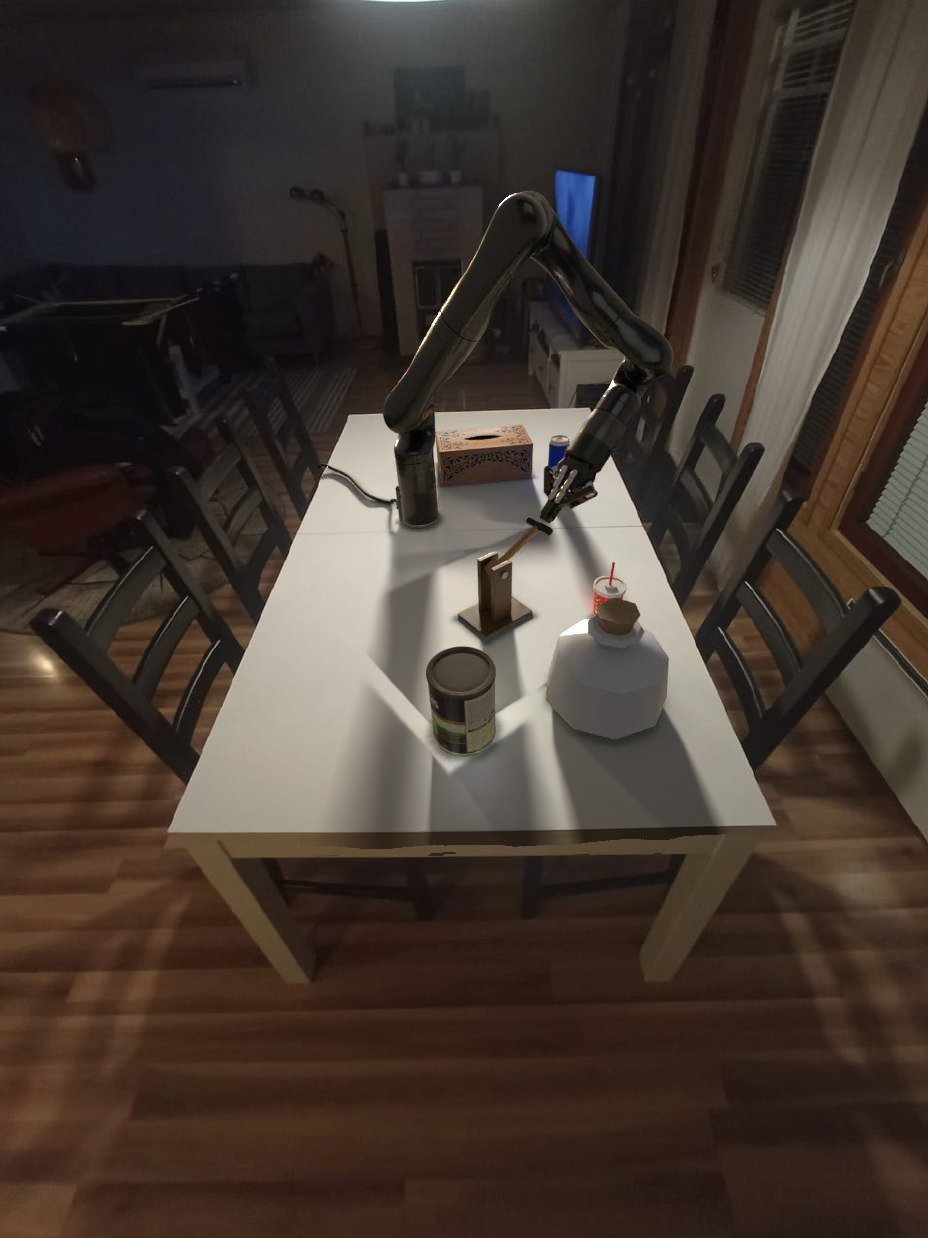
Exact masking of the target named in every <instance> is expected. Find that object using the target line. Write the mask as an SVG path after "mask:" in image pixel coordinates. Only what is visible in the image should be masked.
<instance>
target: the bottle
mask: <svg viewBox="0 0 928 1238" xmlns="http://www.w3.org/2000/svg"><path fill="white" fill-rule="evenodd" d="M597 611H598V614H597V615H595V616H594V617H593V616H592V617H591V618H587V619H581V620H580V621H579V622H578V623H575V624H574V625H573V626H571V627H569V628H568V629H567V630H565V631H564V632H562V633H560V634H559V635H558V637H557V640H556V644H555V647H554V651H553V654H552V658H551V660H550V663H549V667H548V671H547V682H546V683H547V684H546V693H545V701H546V702H547V704H549V705H550V707H552V708H553V710H555V711H556V713H557V714H558V715H559V716H560V717H561V718H562V719H563V720H564V721H565V722H566V724H568V726H569V727H570V728H571V729H573V730H575V731H578V732H582V733H585V734H590V735H595V736H598V737H602V738H607V739H610V740H619V739H622V738H625V737H628V736H631V735H633V734H636V733H640V732H642V731H645V730H648V729H651V728H654V727H656V726H657V723H658V721H659V718H660V715H661V713H662V710H663V708H664V706H665V703H666V700H667V698H668V686H669V685H668V683H669V663H670V657H669V656H668V654H667V652H666V651H665V650H664V648H663V646H662V645H661V644H660V642H659V641H658V639H657V638H656V636H655V635H654V633H653V632H652V631H649V630H647V629H644V628H643V626H642V625H641V623H640V621H639V619H640V617H641V613H640V610H639V608H638V606H637V604H636V603H635V602H632V601H629V600H626V599H623V600H622V599H619V598H613V599H610V600H608V601H606V602H604V603H601V604H599V605H597Z"/></svg>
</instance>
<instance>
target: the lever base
mask: <svg viewBox="0 0 928 1238" xmlns="http://www.w3.org/2000/svg"><path fill="white" fill-rule="evenodd" d="M494 557H495V558H496V559H499V552H498V551H497V550H494V551H492V552H489V553H487V554H485V555H482V556H481V557H479V558H477V559H476V560H477V561H476V564H477V566H476V567H477V568H476V569H477V600H478V603H476V604H474V605H471V606H469V607H467V608H466V609H463V610H462V611H460V612H458V613H457V616H458V617H459V618H461V619H462V620H463V621H464V622H465V623H467V625H469V626H470V627H471V628H473V629H474V630H475V631H476V632H477V633H478V634H480V635H481V636H482V637H483V638H485V639H487V638H489V637H490V636H492V635H494V634H496V633H498V632H499V631H502V630H503V629H505V628H507V627H509V626H511V625H512V624H514V623H516V622H518V621H520V620H522V619H524V618H525V617H527V616H529V615H531V614H533V610H532V609H530V608H529V607H528V606H526V605H525V604H523V603H522V602H521V601H519V600H518V599H517V598H515V597H514V596H513V561H512V560H511V559H510V560H508V561H505V562H503V563H501V564H499V565H497V566H495V567H493V568H491V576H489V575H488V574H487V572H486V570H485V568H484V566H485V565H486V564H488V563H489V562H490V561H491V560H492V559H493V558H494Z"/></svg>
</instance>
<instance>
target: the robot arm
mask: <svg viewBox="0 0 928 1238" xmlns="http://www.w3.org/2000/svg"><path fill="white" fill-rule="evenodd" d="M529 259H531V260H533V261H534V262H536V263H537V265H539V266H540V267H541V268H543V270H545V272H546V273H548V274H549V276H550V277H551V278H552V279H553V280H554V282H555V283H556V284H557V286H558V287H559V289H560V290H561V292H562V293H563V296H564V297H565V299H566V300H567V302H568V304H569V306H570V307H571V309H572V311H573V312H574V314H575V315H576V316H577V318H578V319H579V321H581V323H582V324H583V326H584V327H586V328H587V329H588V331H589V332H590V333H591V334H592V335H593V336H594V338H596V339H597V341H598V342H599V343H600V344H601V345H602V346H603V347H605V348H607V349H615V350H617V351H618V352H619V353H620V354H622V355H623V356H624V357H623V359H622V360H621V362H620V363H619V365H618V367H617V369H616V371H615V373H614V375H613V377H612V379H611V382H610V384H609V386H608V387H607V388H606V390H605V392H604V393H603V395H602V396H601V398H600V399H599V400H598V402H597V403H596V406H595V407H594V408H593V410H592V411H591V413H590V414H589V415H588V416H587V417H586V418H585V420H584V421H583V423H582V425H581V426H580V428H579V429H578V431H577V433H576V434H575V436H574V437H573V439H572V441H571V442H570V445H569V447H568V448H567V450H566V455H565V457H564V458H563V459H562V460H561V461H560V462H559V463H558V465H557V466H554V467H551V468H550V467H549V466H548V465H545V466H544V467H543V493H544V494H545V495H546V497H547V501H546V502H545V504H544V505H543V507H542V509H541V510H540V511H539V519H540V520H541V521H543V522H545V523H547V524H549V525H550V524H551V523H553V522H554V521H555V520H556V518H557V517H558V515H559V514H560V512H561V511H562V509H564V508H569V509H570V510H571V509H574V508H576V507H578V506H580V505H582V504H584V503H586V502H588V501H590V500H593V499H594V498H596V497H597V496H598V494H599V491H597V489H596V488H595V485H594V482H595V481H596V476H597V474H599V473H600V472H601V471H602V470H603V468H604V466H605V465H606V463H607V462H608V461H609V459H610V457H611V456H612V454H613V453H614V451H615V450H616V448H617V447H618V445H619V443H620V442H621V440H622V438H623V436H624V434H625V432H626V430H627V429H628V427H629V426H630V424H631V423H632V421H633V420H634V418H635V417H636V415H637V413H638V411H639V410H640V407H641V404H642V401H641V399H642V398H643V396H644V394H645V392H646V391H647V389H648V388H649V387H650V385H651V384H652V382H655V381H657V380H658V379H659V378H662V377H663V376H665V375H666V374H667V373H668V372H669V371H670V370H671V368H672V366H673V363H674V359H675V357H674V355H675V354H674V350H673V347H672V346H671V343H670V342H669V340H668V339H667V337H666V336H665V335H664V334H663V333H661V332H660V331H659V330H658V329H657V328H655V327H654V326H652V324H650V323H649V322H647V321H646V320H645V319H643V318H642V317H640V316H639V315H637V314H635V313H634V312H633V310H632V309H631V308H630V307H629V306H628V305H627V303H626V302H625V301H624V300H623V299H622V298H621V297H620V296H619V295H618V293H617V292H616V291H615V290H614V288H612V287H611V285H610V284H609V283H608V282H607V281H606V280H605V279H604V278H603V277H602V276H601V274H600V272H598V271H597V270H596V269H595V267H594V266H593V265H592V264H591V263H590V262H589V260H588V259H587V258H586V257H585V255H584V254H583V253H582V252H581V250H580V248H578V245H576V242H575V241H574V240H573V239H572V237H571V236H570V234H569V233H568V231H567V230H566V228H565V226H564V225H563V223H562V221H561V219H560V218H559V216H558V215H557V213H556V212H555V210H554V209H553V207H552V205H551V204H550V202H549V200H547V198H546V197H545V195H543V194H541V193H540V192H538V191H534V190H523V191H520V192H516V193H513V194H510V195H509V196H508V197H506V198H505V199H504V200H503V201H502V202H501V203H500V204H499V205H498V206H497V208H496V210H495V212H494V214H493V216H492V217H491V220H490V222H489V224H488V227H487V228H486V231H485V232H484V236H483V237H482V240H481V242H480V244H479V246H478V248H477V250H476V252H475V255H474V257H473V258H472V260H471V262H470V264H469V265H468V267H467V269H466V270H465V271H464V272H463V275H462V276H461V277H460V279H459V280H458V282H457V283H456V284H455V286H454V287H453V289H452V291H451V292H450V294H449V295H448V297H447V299H445V302H444V303H443V304H442V306H441V307H440V309H439V311H438V313H437V315H436V316H435V318H434V319H433V321H432V323H431V324H430V327H429V329H428V331H427V332H426V334H425V336H424V338H423V340H422V342H421V344H420V345H419V347H418V350H417V351H416V353H415V355H414V357H413V359H412V360H411V363H410V365H409V366H408V368H407V370H406V371H405V372H404V374H403V375H402V377H401V379H400V380H399V381H398V382H397V384H396V385H395V386H394V388H393V389H392V390H391V391H390V393H389V394H388V395H387V397H385V400H384V402H383V406H382V417H383V421H384V424H385V425H386V427H387V428H388V429H389V431H391V432H393V433H395V434H398V435H397V439H396V441H395V444H394V446H393V455H394V461H395V469H396V476H397V484H398V485H397V486H395V495H396V498H391V499H389V500H388V499H383V498H380V497H377V496H375V495H373V494H370V492H368V491H366V490H365V489H364V488H363V487H362V486H361V485H360V484H359V483H358V482H357V481H356V480H355V478H354V477H353V476H351V475H350V474H348V473H347V472H345V471H343V470H341V469H338V468H336V467H334V466H331V465H329V464H327V463H324V462H321V463H319V464H318V465H317V468H318V469H321V468H322V467H325V468H327V466H328V468H327V469H328V470H330V471H333V472H335V473H338V474H340V475H342V476H344V477H346V478H347V479H349V480H350V481H351V482H352V484H353V485H354V486H355V487H356V488H357V490H359V491H360V493H362V494H363V495H364V496H365V497H366V498H369V499H371V500H374V501H376V502H377V503H383V504H386V505H393V504H394V503H395V505H396V510H397V512H398V518H399V522H400V523H402V524H403V525H404V526H405V527H407V528H410V529H415V530H423V529H428V528H431V527H433V526H435V525H436V524H437V523H438V522H439V520H440V513H439V502H438V492H437V491H438V490H437V480H436V479H437V478H436V466H435V452H434V449H435V445H436V434H435V432H436V414H435V413H436V411H435V403H434V399H433V397H434V396H435V395H436V393H437V392H438V391H439V390H440V389H441V387H442V386H443V385H444V384H445V383H446V382H447V381H448V380H449V379H450V378H451V377H452V376H453V375H454V374H455V372H456V371H458V369H459V368H460V367H461V365H463V364H464V362H466V360H467V358H468V357H469V356H470V355H471V353H472V352H473V350H474V349H475V347H476V346H477V344H478V343H479V341H480V340H481V338H482V337H483V335H484V334H485V332H486V330H487V329H488V326H489V325H490V322H491V319H492V317H493V314H494V312H495V309H496V306H497V304H498V302H499V299H500V297H501V295H502V294H503V292H504V290H505V289H506V287H507V286H508V284H509V283H510V282H511V281H512V279H513V278H514V277H515V275H516V274H517V273H518V272H519V270H520V269H521V268H522V267H523V266H524V264H526V262H527V261H528V260H529ZM556 478H557V479H556ZM555 479H556V481H555Z"/></svg>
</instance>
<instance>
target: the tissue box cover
mask: <svg viewBox="0 0 928 1238" xmlns="http://www.w3.org/2000/svg"><path fill="white" fill-rule="evenodd" d="M435 434H436V437H435V445H436V447H435V448H436V458H437V460H436V461H437V468H438V473H439V479H440V482H441V483H440V484H441V486H442V487H445V486H447V487H448V486H455V485H456V486H458V485H467V484H478V483H489V482H490V483H491V482H500V481H509V480H510V481H511V480H522V479H531V478H533V460H534V459H533V458H534V442H533V441H532V438H531V436H530V435H529V433H528V432H527V429H526V428H525V425H524V423H522V424H521V423H520V424H510V425H509V424H507V425H498V426H487V427H486V426H485V427H476V428H474V427H473V428H466V429H451V430H441V431H439V430H438V431H435Z"/></svg>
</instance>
